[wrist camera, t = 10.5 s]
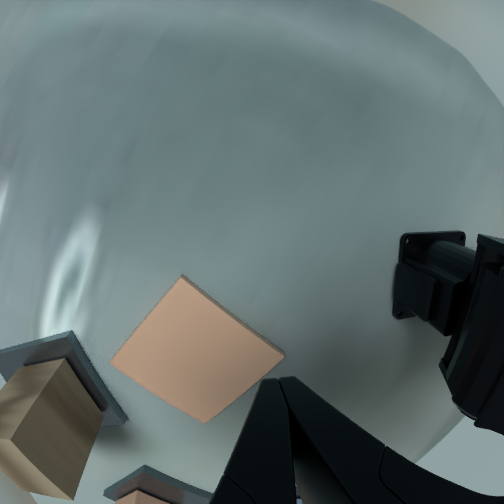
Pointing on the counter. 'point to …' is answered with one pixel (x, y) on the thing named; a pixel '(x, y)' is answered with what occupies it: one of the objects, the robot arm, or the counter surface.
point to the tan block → (139, 499)
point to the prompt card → (195, 353)
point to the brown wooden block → (46, 429)
